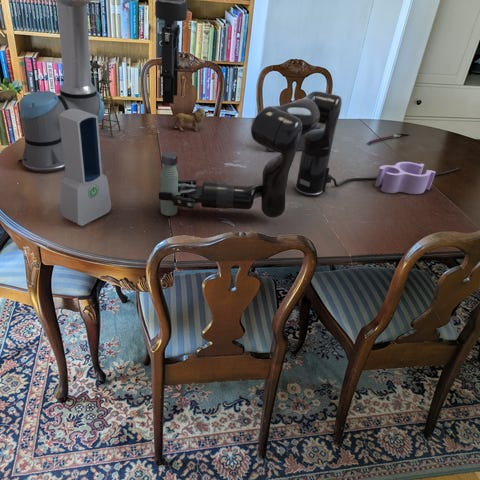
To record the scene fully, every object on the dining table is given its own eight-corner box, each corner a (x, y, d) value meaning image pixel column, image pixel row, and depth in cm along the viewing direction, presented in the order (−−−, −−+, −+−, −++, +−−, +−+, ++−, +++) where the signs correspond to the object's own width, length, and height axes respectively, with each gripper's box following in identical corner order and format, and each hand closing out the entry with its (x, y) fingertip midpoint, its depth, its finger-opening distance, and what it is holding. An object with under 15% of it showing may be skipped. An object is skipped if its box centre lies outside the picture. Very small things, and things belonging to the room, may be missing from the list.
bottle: (167, 217, 137) (167, 161, 128) (157, 210, 140) (157, 155, 130) (180, 212, 140) (182, 157, 131) (170, 205, 143) (171, 151, 134)
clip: (387, 196, 162) (393, 178, 159) (368, 180, 172) (373, 163, 168) (434, 192, 169) (440, 175, 165) (413, 177, 178) (419, 160, 175)
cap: (168, 167, 129) (168, 159, 128) (158, 161, 131) (158, 154, 130) (180, 163, 132) (180, 155, 130) (170, 158, 134) (171, 150, 133)
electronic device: (79, 228, 128) (67, 121, 112) (60, 218, 131) (46, 113, 115) (112, 211, 137) (105, 110, 121) (94, 202, 140) (85, 103, 124)
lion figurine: (202, 126, 204) (203, 106, 200) (205, 130, 200) (206, 110, 196) (169, 127, 200) (169, 106, 195) (172, 132, 195) (172, 110, 191)
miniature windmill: (112, 137, 184) (107, 58, 168) (92, 134, 185) (85, 54, 169) (121, 130, 192) (117, 53, 176) (102, 127, 193) (96, 50, 177)
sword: (406, 132, 223) (406, 130, 222) (411, 134, 221) (412, 132, 220) (362, 144, 207) (363, 141, 206) (368, 146, 205) (368, 143, 204)
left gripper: (161, -6, 117) (161, 87, 130) (147, 3, 101) (149, 108, 114) (191, -2, 118) (188, 90, 130) (182, 7, 101) (180, 111, 114)
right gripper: (219, 173, 142) (162, 169, 140) (218, 195, 130) (156, 191, 128) (217, 195, 146) (162, 191, 144) (216, 218, 134) (156, 214, 132)
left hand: (170, 98), depth 122 cm, fingers open, 7 cm apart
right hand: (160, 191), depth 136 cm, fingers closed on bottle, 5 cm apart
